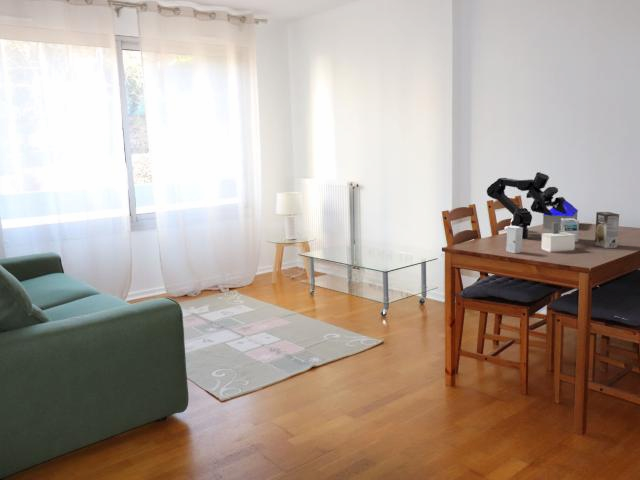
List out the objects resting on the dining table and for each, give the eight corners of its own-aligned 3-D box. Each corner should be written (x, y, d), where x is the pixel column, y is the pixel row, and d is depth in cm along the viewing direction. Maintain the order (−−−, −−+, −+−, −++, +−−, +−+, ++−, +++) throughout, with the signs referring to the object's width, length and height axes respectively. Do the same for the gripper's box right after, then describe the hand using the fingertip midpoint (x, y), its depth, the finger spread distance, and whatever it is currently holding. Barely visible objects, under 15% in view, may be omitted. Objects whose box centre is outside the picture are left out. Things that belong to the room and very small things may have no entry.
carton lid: (541, 234, 272) (541, 223, 271) (565, 232, 273) (565, 221, 272) (550, 237, 263) (551, 225, 262) (575, 235, 265) (576, 224, 264)
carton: (541, 249, 273) (541, 234, 271) (564, 247, 274) (565, 233, 273) (550, 252, 265) (550, 237, 264) (574, 250, 266) (574, 235, 265)
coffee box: (594, 244, 279) (595, 212, 276) (606, 244, 279) (608, 211, 276) (604, 248, 270) (606, 214, 267) (617, 247, 270) (619, 213, 267)
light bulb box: (578, 242, 286) (579, 221, 284) (564, 242, 288) (564, 221, 286) (573, 238, 297) (574, 218, 295) (559, 238, 298) (560, 218, 296)
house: (549, 222, 352) (550, 197, 349) (577, 224, 344) (578, 198, 341) (542, 229, 330) (543, 202, 328) (572, 230, 322) (573, 202, 320)
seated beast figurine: (503, 230, 330) (503, 209, 328) (517, 229, 331) (518, 208, 328) (510, 232, 321) (510, 211, 318) (525, 232, 321) (525, 210, 319)
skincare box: (505, 251, 270) (506, 226, 268) (513, 250, 272) (513, 225, 270) (515, 253, 264) (515, 227, 262) (522, 252, 266) (523, 227, 264)
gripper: (531, 183, 281) (551, 202, 270) (559, 181, 288) (580, 199, 278) (522, 202, 288) (541, 220, 277) (550, 199, 295) (570, 217, 285)
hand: (558, 214), depth 279 cm, fingers open, 9 cm apart
